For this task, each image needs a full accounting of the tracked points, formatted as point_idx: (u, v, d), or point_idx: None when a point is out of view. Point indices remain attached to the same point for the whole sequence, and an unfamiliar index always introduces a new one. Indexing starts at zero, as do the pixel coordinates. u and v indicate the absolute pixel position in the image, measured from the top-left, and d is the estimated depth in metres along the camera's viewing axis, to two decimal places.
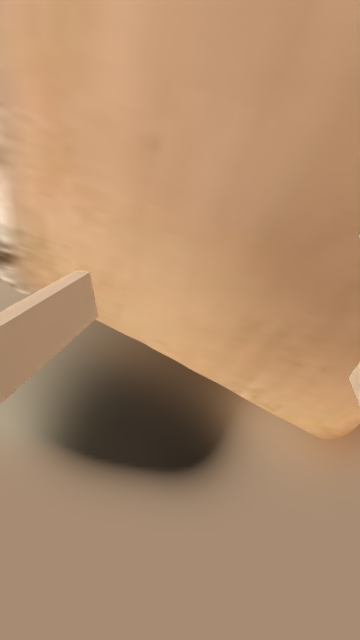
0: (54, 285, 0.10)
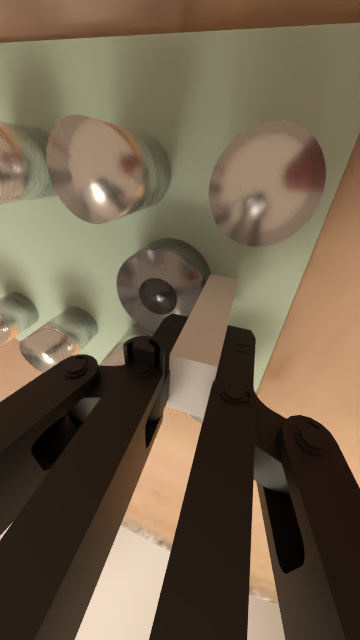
0: (207, 289, 0.11)
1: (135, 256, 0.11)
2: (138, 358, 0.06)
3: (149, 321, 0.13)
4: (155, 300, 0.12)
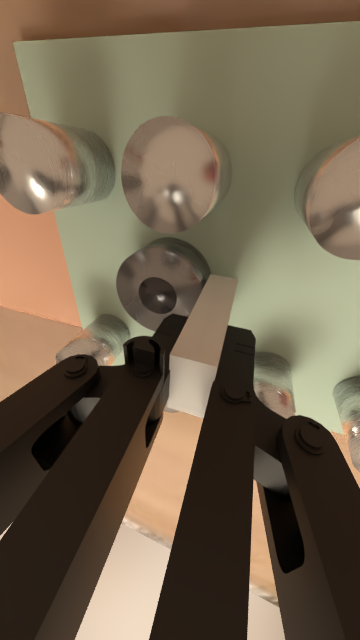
0: (207, 289, 0.11)
1: (135, 255, 0.11)
2: (137, 358, 0.06)
3: (148, 320, 0.13)
4: (155, 300, 0.12)
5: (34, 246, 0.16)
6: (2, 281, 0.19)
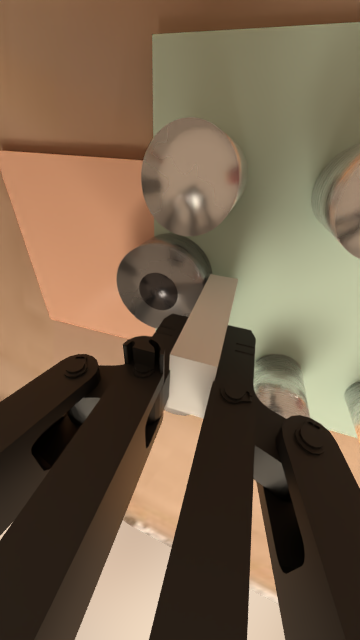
0: (207, 289, 0.11)
1: (139, 249, 0.11)
2: (138, 358, 0.06)
3: (147, 315, 0.13)
4: (155, 296, 0.12)
5: (119, 261, 0.15)
6: (70, 296, 0.18)
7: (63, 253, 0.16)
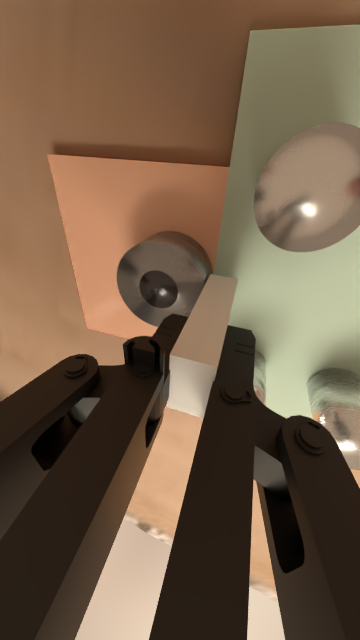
0: (207, 289, 0.11)
1: (141, 246, 0.11)
2: (138, 358, 0.06)
3: (146, 313, 0.13)
4: (155, 293, 0.12)
5: None
6: (112, 305, 0.17)
7: (111, 262, 0.15)
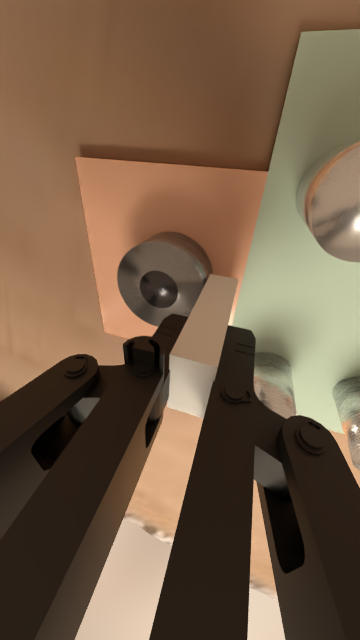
0: (207, 289, 0.11)
1: (141, 246, 0.11)
2: (138, 358, 0.06)
3: (146, 313, 0.13)
4: (155, 293, 0.12)
5: None
6: None
7: None
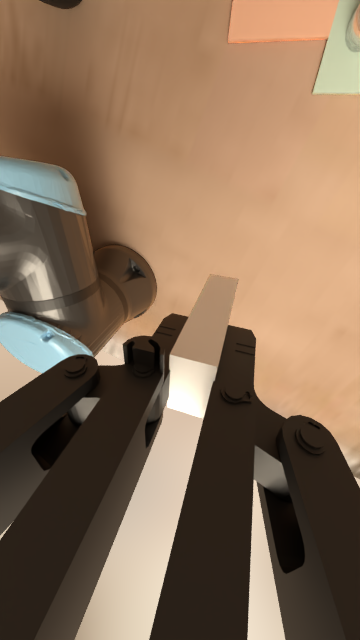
0: (207, 289, 0.11)
1: None
2: (137, 358, 0.06)
3: None
4: None
5: None
6: None
7: None
